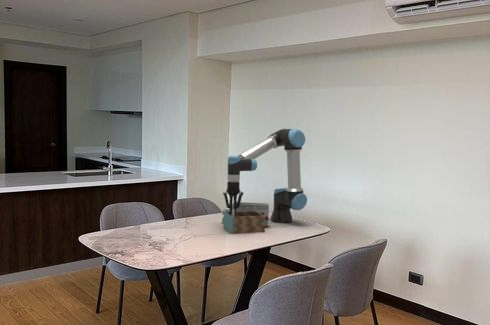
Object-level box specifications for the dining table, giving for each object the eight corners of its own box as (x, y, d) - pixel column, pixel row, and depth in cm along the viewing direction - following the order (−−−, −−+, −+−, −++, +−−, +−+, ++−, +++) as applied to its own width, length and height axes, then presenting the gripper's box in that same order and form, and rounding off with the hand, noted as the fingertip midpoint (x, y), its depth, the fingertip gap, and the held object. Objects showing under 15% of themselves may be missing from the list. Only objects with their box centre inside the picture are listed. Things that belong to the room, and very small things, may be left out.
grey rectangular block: (223, 223, 299) (223, 201, 298) (268, 225, 296) (268, 203, 295) (221, 226, 291) (221, 203, 290) (267, 228, 288) (268, 205, 287)
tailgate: (225, 227, 280) (225, 212, 279) (233, 233, 265) (233, 217, 264) (223, 228, 279) (223, 212, 278) (231, 234, 264) (231, 217, 263)
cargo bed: (255, 228, 286) (255, 210, 286) (264, 234, 271) (265, 215, 270) (225, 230, 280) (226, 212, 279) (233, 236, 265) (234, 217, 264)
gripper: (241, 180, 276) (240, 217, 278) (221, 180, 271) (220, 218, 273) (245, 181, 269) (244, 220, 271) (225, 182, 264) (224, 221, 266)
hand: (232, 219), depth 272 cm, fingers closed
